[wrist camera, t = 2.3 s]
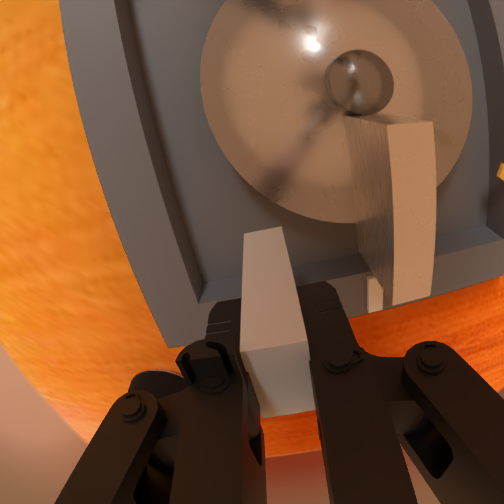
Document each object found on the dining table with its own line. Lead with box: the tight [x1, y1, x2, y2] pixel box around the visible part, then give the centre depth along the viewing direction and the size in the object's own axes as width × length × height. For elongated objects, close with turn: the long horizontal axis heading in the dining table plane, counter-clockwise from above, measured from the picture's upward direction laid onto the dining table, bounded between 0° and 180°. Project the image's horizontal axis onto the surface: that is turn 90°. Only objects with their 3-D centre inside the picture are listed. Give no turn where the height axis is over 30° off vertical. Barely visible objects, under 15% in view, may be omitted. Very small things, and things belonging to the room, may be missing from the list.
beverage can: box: [128, 370, 188, 399], centre depth 19 cm, size 6×7×15 cm
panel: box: [59, 0, 504, 348], centre depth 14 cm, size 26×26×4 cm
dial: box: [200, 0, 473, 306], centre depth 12 cm, size 16×14×7 cm
